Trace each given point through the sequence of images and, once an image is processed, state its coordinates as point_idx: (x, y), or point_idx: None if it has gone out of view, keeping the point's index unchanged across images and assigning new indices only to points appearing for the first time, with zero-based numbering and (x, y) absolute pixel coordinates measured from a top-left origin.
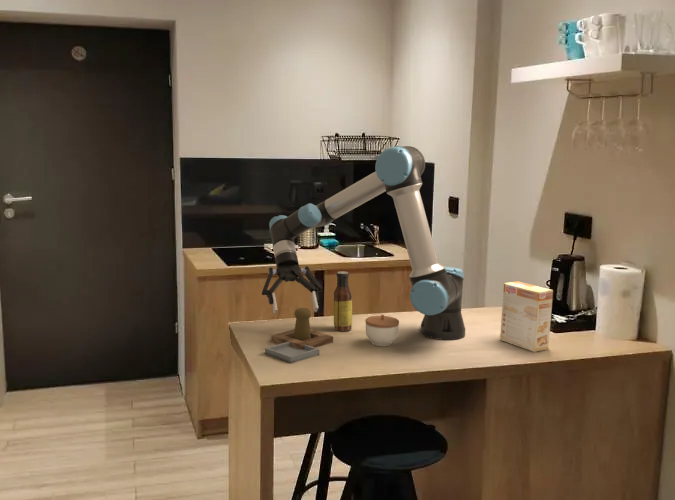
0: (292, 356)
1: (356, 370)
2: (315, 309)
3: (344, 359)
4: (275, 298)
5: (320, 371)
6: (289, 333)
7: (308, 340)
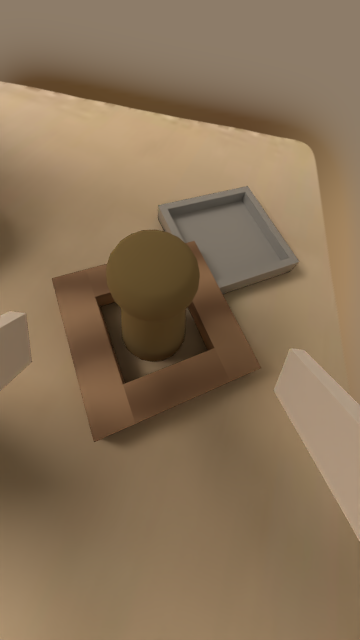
0: (243, 189)
1: (128, 128)
2: (26, 336)
3: (115, 175)
4: (351, 415)
5: (198, 148)
6: (188, 365)
7: None
